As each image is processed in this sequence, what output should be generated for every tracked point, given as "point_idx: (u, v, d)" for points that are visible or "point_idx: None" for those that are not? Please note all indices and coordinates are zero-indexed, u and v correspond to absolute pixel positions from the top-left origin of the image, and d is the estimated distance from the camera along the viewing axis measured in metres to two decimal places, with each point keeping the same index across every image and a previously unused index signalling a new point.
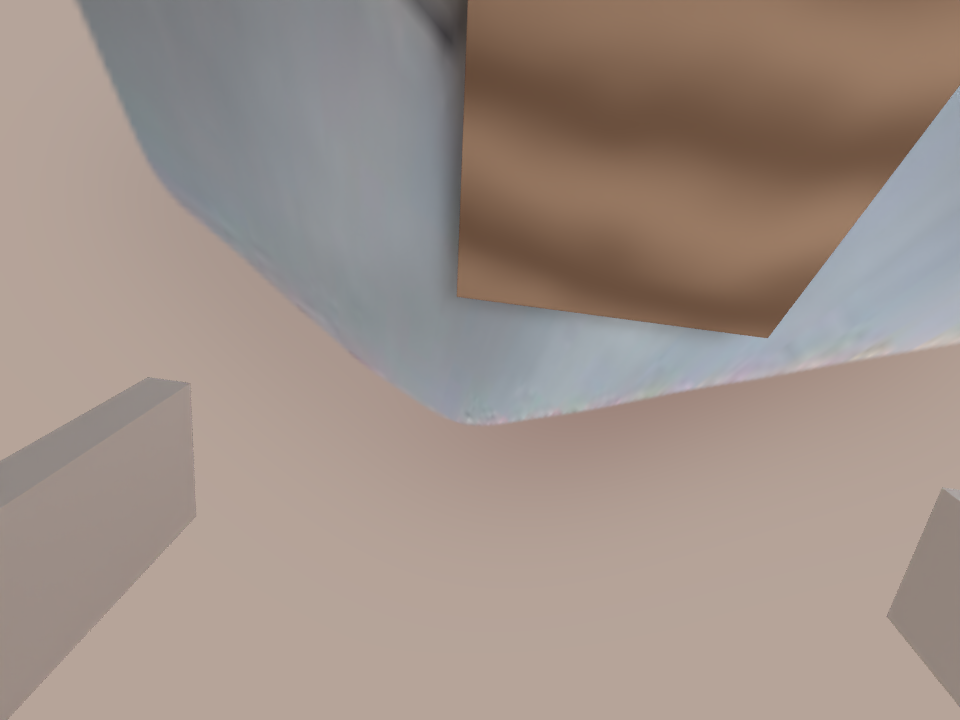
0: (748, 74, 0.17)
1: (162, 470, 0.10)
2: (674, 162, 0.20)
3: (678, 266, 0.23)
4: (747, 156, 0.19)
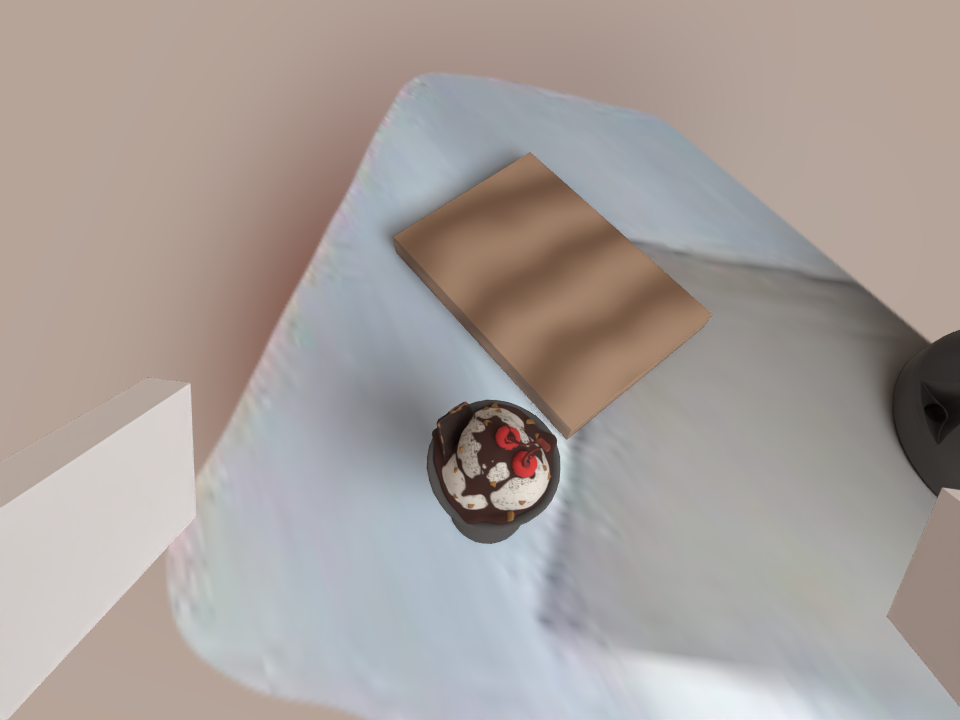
0: (548, 295, 0.43)
1: (162, 470, 0.10)
2: (530, 259, 0.44)
3: (474, 232, 0.45)
4: (513, 280, 0.43)
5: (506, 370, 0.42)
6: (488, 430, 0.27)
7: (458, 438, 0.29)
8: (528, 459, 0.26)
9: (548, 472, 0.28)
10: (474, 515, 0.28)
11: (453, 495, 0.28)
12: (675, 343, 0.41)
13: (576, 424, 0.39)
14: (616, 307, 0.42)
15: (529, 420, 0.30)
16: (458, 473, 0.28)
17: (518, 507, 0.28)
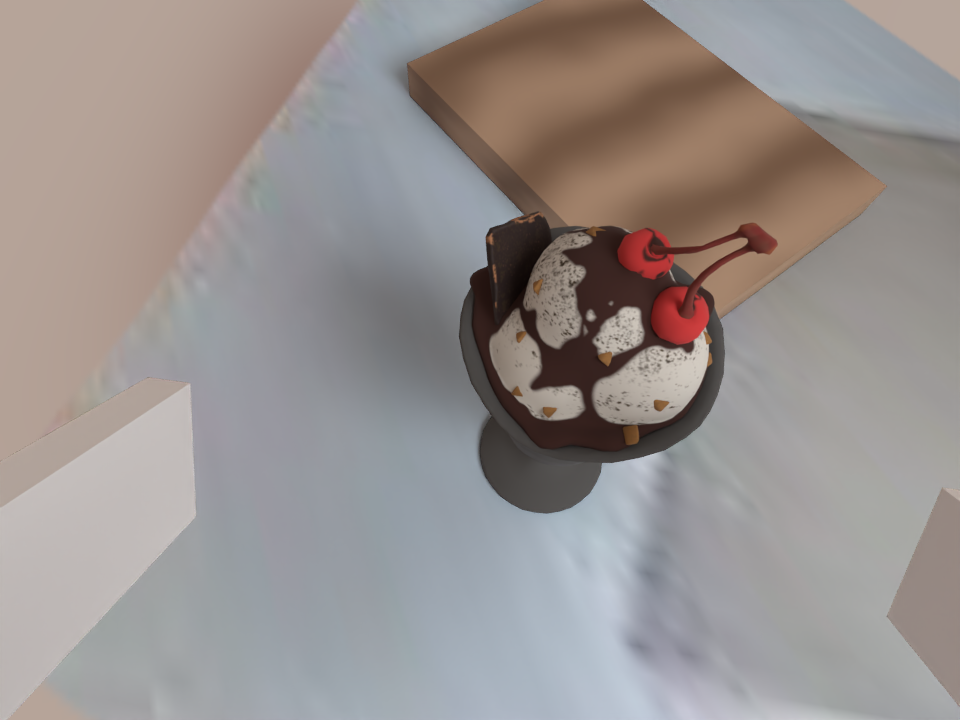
0: (636, 149, 0.28)
1: (162, 470, 0.10)
2: (609, 101, 0.30)
3: (526, 63, 0.31)
4: (584, 126, 0.29)
5: None
6: (600, 243, 0.13)
7: (524, 282, 0.15)
8: (692, 300, 0.12)
9: (707, 353, 0.14)
10: (555, 431, 0.14)
11: (512, 390, 0.14)
12: (834, 222, 0.27)
13: None
14: (740, 170, 0.28)
15: None
16: (526, 342, 0.13)
17: (648, 418, 0.13)
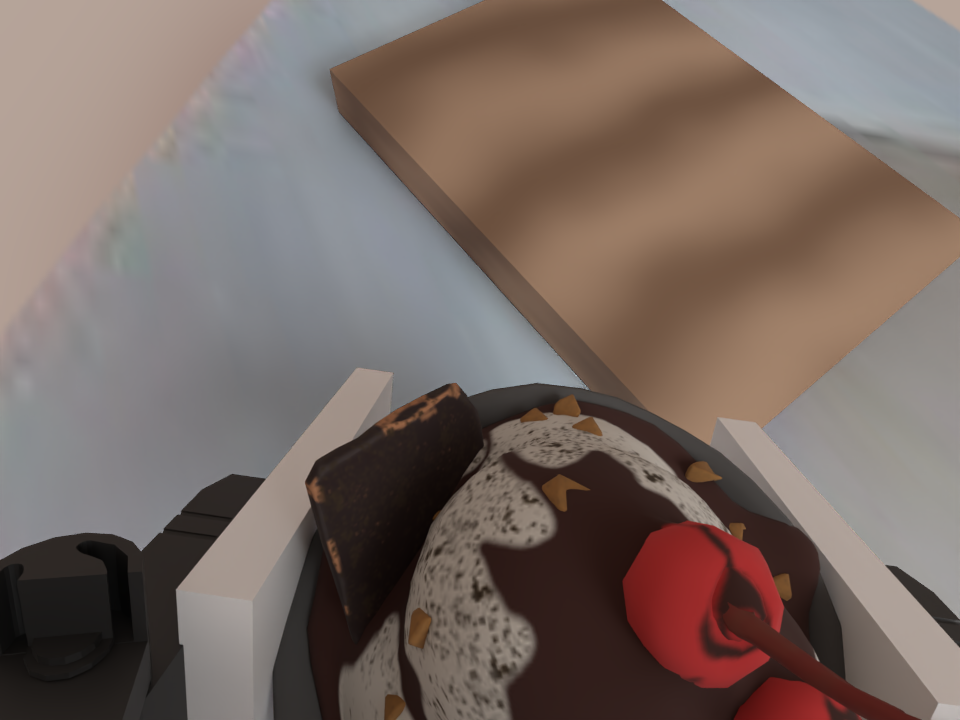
0: (638, 186, 0.21)
1: None
2: (601, 120, 0.22)
3: (490, 68, 0.23)
4: (566, 154, 0.21)
5: (548, 336, 0.20)
6: (575, 541, 0.05)
7: (417, 540, 0.07)
8: None
9: None
10: None
11: None
12: (917, 289, 0.19)
13: None
14: (782, 214, 0.20)
15: (701, 468, 0.08)
16: None
17: None
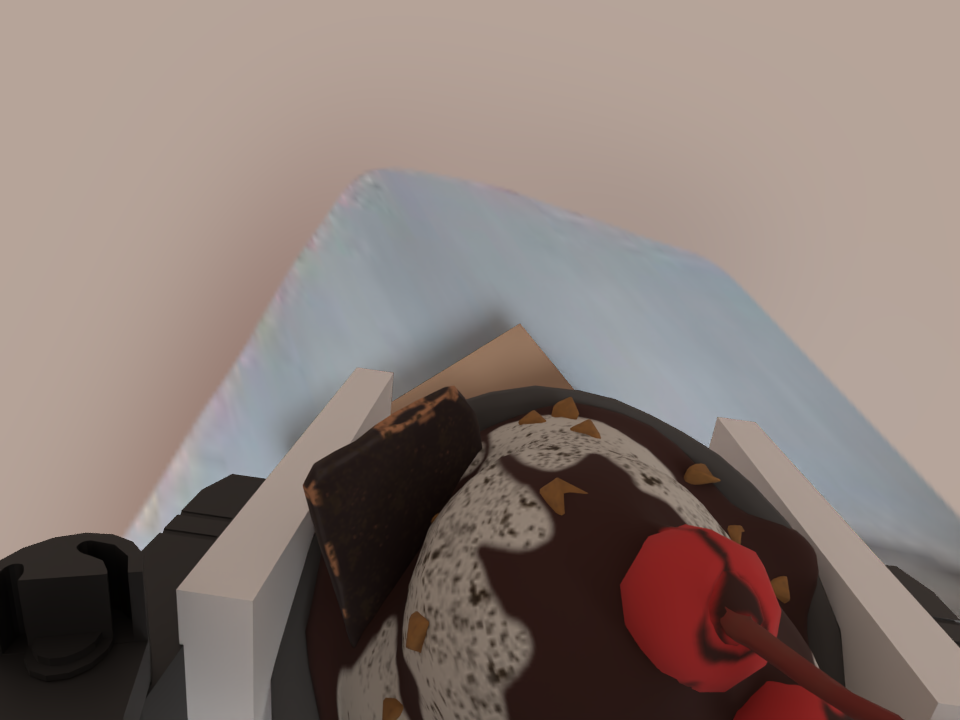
0: None
1: None
2: None
3: None
4: None
5: None
6: (573, 545, 0.05)
7: (416, 543, 0.07)
8: None
9: None
10: None
11: None
12: None
13: None
14: None
15: (699, 470, 0.08)
16: None
17: None
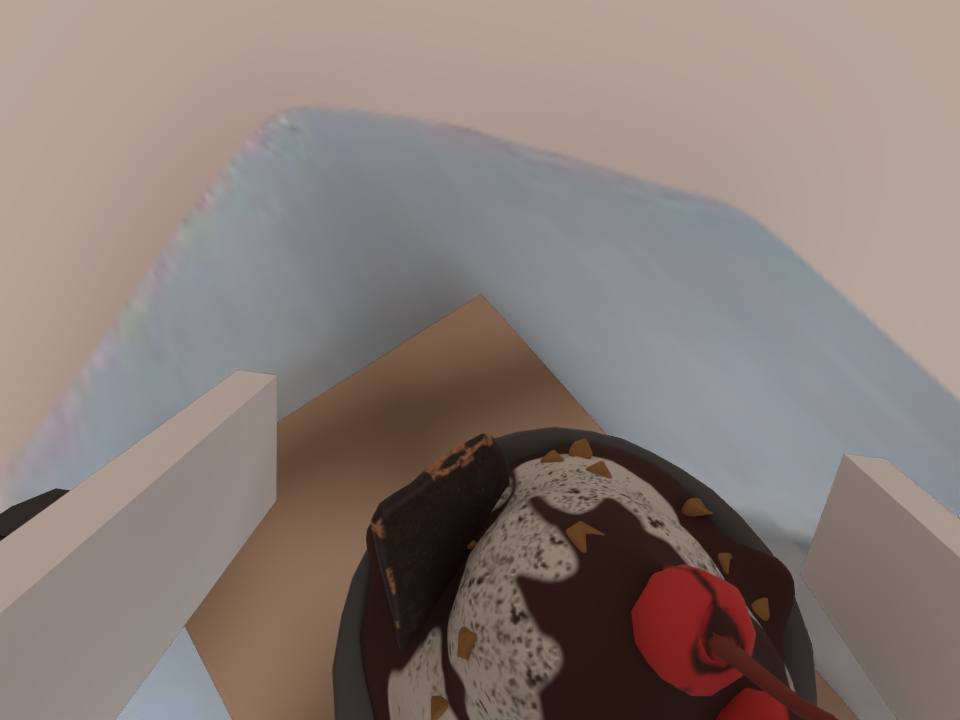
0: None
1: (255, 455, 0.10)
2: None
3: (330, 507, 0.19)
4: None
5: None
6: (594, 577, 0.06)
7: (455, 566, 0.08)
8: None
9: None
10: None
11: None
12: None
13: None
14: None
15: (695, 504, 0.09)
16: None
17: None
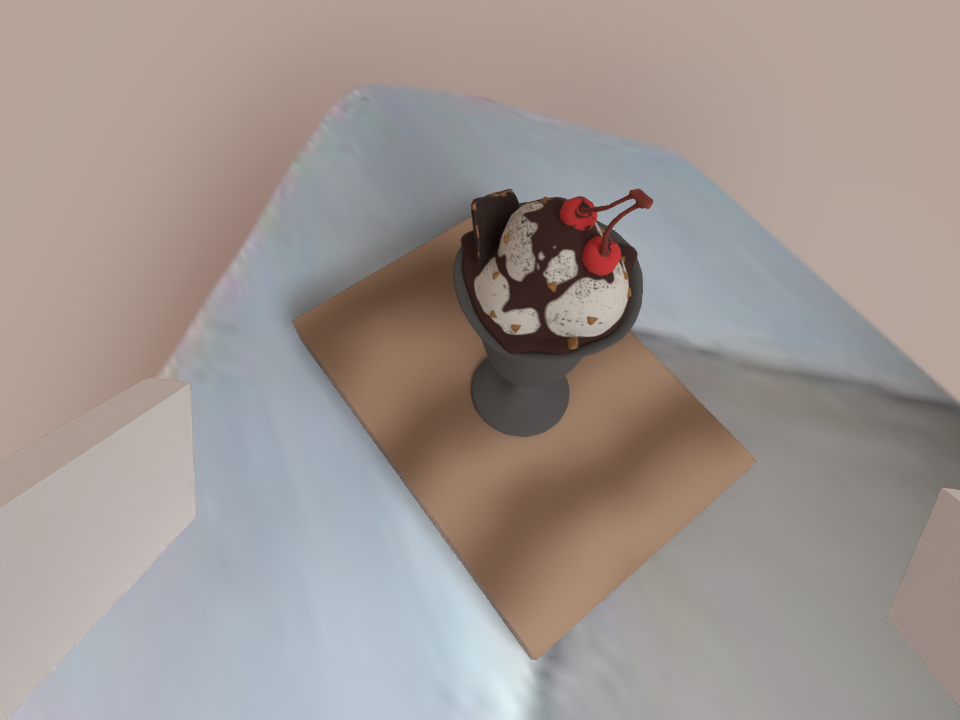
0: None
1: (162, 470, 0.10)
2: None
3: (411, 317, 0.31)
4: (462, 395, 0.29)
5: (444, 538, 0.28)
6: (548, 207, 0.18)
7: (499, 239, 0.20)
8: (609, 244, 0.18)
9: (628, 288, 0.20)
10: (519, 341, 0.19)
11: (490, 313, 0.20)
12: (702, 508, 0.27)
13: (545, 649, 0.24)
14: (613, 445, 0.28)
15: (598, 227, 0.21)
16: (499, 279, 0.19)
17: (584, 331, 0.19)
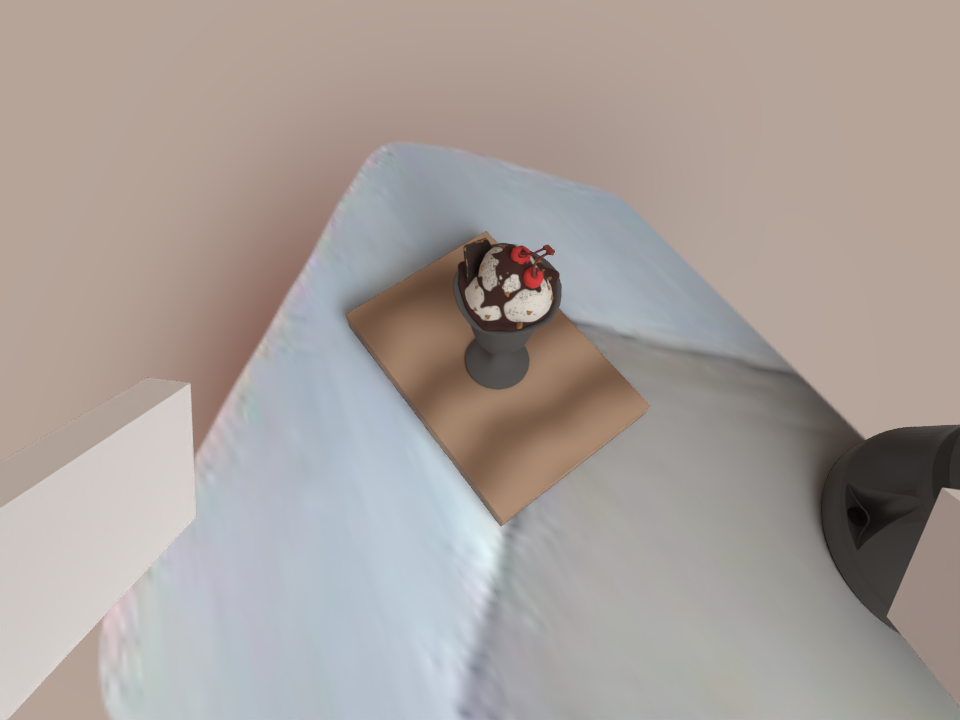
0: None
1: (162, 470, 0.10)
2: None
3: (425, 312, 0.46)
4: (459, 363, 0.45)
5: (447, 453, 0.43)
6: (505, 251, 0.34)
7: (479, 266, 0.36)
8: (536, 271, 0.33)
9: (551, 294, 0.35)
10: (490, 324, 0.35)
11: (473, 308, 0.35)
12: (611, 434, 0.42)
13: (508, 515, 0.40)
14: (557, 395, 0.44)
15: (537, 259, 0.37)
16: (478, 289, 0.35)
17: (526, 319, 0.34)
